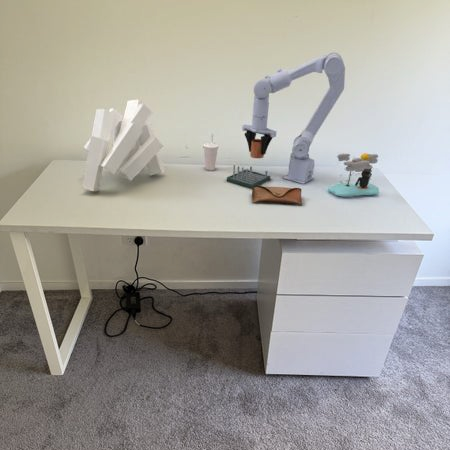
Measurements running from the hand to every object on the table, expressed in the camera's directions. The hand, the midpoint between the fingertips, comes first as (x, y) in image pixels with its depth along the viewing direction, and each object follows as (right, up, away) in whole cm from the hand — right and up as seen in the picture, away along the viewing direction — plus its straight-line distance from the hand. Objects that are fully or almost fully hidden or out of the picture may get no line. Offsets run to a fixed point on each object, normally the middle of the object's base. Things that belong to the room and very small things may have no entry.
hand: (257, 152), depth 153 cm
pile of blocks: (-51, -12, -4) cm, 53 cm away
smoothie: (-19, -4, +9) cm, 21 cm away
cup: (0, -1, +1) cm, 1 cm away
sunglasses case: (+6, -23, -16) cm, 29 cm away
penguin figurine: (+36, -18, -7) cm, 41 cm away
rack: (-4, -11, -1) cm, 12 cm away
